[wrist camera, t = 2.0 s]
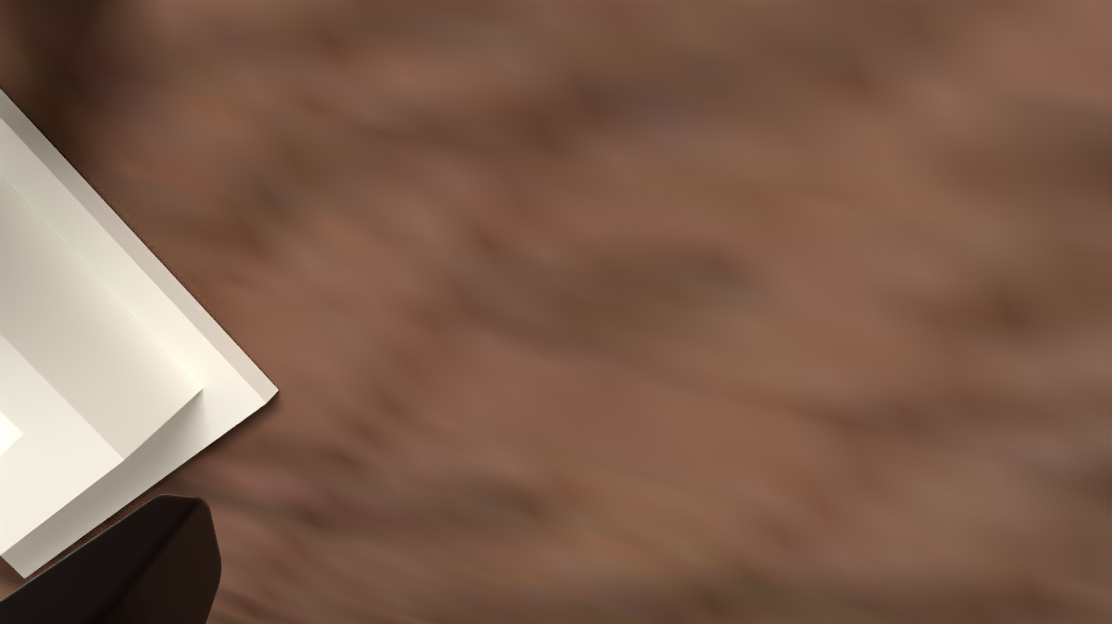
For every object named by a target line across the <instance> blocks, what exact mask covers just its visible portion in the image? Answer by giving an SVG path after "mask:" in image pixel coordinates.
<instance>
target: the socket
mask: <svg viewBox="0 0 1112 624" xmlns="http://www.w3.org/2000/svg"><path fill="white" fill-rule="evenodd" d="M278 391H279V390H278V389H277V388H276V387H275V385H274V384H273V383H272V382H271V381H270V380H269V379H268V378H267V377H266V376H265V375H264V374H263V372H262V371H261V370H260V369H259V368H258V367H257V366H256V365H255V364H254V363H253V362H252V361H251V359H250V358H249V357H248V356H247V355H246V354H245V353H244V352H243V351H242V350H241V349H240V348H239V346H238V345H237V344H236V343H235V342H234V341H233V340H232V339H231V338H230V337H229V336H228V335H227V333H226V332H225V331H224V330H223V329H222V328H221V327H220V326H219V325H218V324H217V323H216V322H215V320H214V319H213V318H212V317H211V316H210V315H209V314H208V313H207V312H206V311H205V310H204V309H203V307H202V306H201V305H200V304H199V303H198V302H197V301H196V300H195V299H194V298H193V297H192V296H191V294H190V293H189V292H188V291H187V290H186V289H185V288H184V287H183V286H182V285H181V284H180V283H179V281H178V280H177V279H176V278H175V277H174V276H173V275H172V274H171V273H170V272H169V271H168V270H167V268H166V267H165V266H164V265H163V264H162V263H161V262H160V261H159V260H158V259H157V258H156V257H155V255H154V254H153V253H152V252H151V251H150V250H149V249H148V248H147V247H146V246H145V245H144V244H143V243H142V241H141V240H140V239H139V238H138V237H137V236H136V235H135V234H134V233H133V232H132V231H131V230H130V228H129V227H128V226H127V225H126V224H125V223H124V222H123V221H122V220H121V219H120V218H119V217H118V215H117V214H116V213H115V212H114V211H113V210H112V209H111V208H110V207H109V206H108V205H107V204H106V202H105V201H104V200H103V199H102V198H101V197H100V196H99V195H98V194H97V193H96V192H95V191H94V189H93V188H92V187H91V186H90V185H89V184H88V183H87V182H86V181H85V180H84V179H83V178H82V176H81V175H80V174H79V173H78V172H77V171H76V170H75V169H74V168H73V167H72V166H71V165H70V163H69V162H68V161H67V160H66V159H65V158H64V157H63V156H62V155H61V154H60V153H59V152H58V150H57V149H56V148H55V147H54V146H53V145H52V144H51V143H50V142H49V141H48V140H47V139H46V137H45V136H44V135H43V134H42V133H41V132H40V131H39V130H38V129H37V128H36V127H35V126H34V124H33V123H32V122H31V121H30V120H29V119H28V118H27V117H26V116H25V115H24V114H23V113H22V111H21V110H20V109H19V108H18V107H17V106H16V105H15V104H14V103H13V102H12V101H11V100H10V99H9V97H8V96H7V95H6V94H5V93H4V92H3V91H2V90H1V89H0V556H1V557H2V558H3V559H4V560H5V561H6V562H8V563H9V564H10V565H11V566H12V567H13V568H14V569H15V570H16V571H17V572H18V573H19V574H20V575H21V576H22V577H23V578H24V579H25V578H26V577H27V576H29V575H30V574H31V573H33V572H34V571H36V570H37V569H38V568H40V567H41V566H42V565H44V564H45V563H47V562H48V561H49V560H51V559H52V558H54V557H55V556H56V555H58V554H59V553H60V552H62V551H63V550H65V549H66V548H67V547H69V546H70V545H71V544H73V543H74V542H76V541H77V540H78V539H80V538H81V537H82V536H84V535H85V534H87V533H88V532H89V531H91V530H92V529H94V528H95V527H96V526H98V525H99V524H100V523H102V522H103V521H105V520H106V519H107V518H109V517H110V516H111V515H113V514H114V513H116V512H117V511H118V510H120V509H121V508H122V507H124V506H125V505H127V504H128V503H129V502H131V501H132V500H134V499H135V498H136V497H138V496H139V495H140V494H142V493H143V492H145V491H146V490H147V489H149V488H150V487H151V486H153V485H154V484H156V483H157V482H158V481H160V480H161V479H162V478H164V477H165V476H167V475H168V474H169V473H171V472H172V471H173V470H175V469H176V468H178V467H179V466H180V465H182V464H183V463H185V462H186V461H187V460H189V459H190V458H191V457H193V456H194V455H196V454H197V453H198V452H200V451H201V450H202V449H204V448H205V447H207V446H208V445H209V444H211V443H212V442H213V441H215V440H216V439H218V438H219V437H220V436H222V435H223V434H225V433H226V432H227V431H229V430H230V429H231V428H233V427H234V426H236V425H237V424H238V423H240V422H241V421H242V420H244V419H245V418H247V417H248V416H249V415H251V414H252V413H253V412H255V411H256V410H258V409H259V408H260V407H262V406H263V405H265V404H266V403H267V402H268V401H269V400H270V399H271V398H272V397H273V396H274V395H275V394H276V393H277V392H278Z"/></svg>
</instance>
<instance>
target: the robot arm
mask: <svg viewBox="0 0 1112 624" xmlns="http://www.w3.org/2000/svg"><path fill="white" fill-rule="evenodd" d="M220 577H221V556H220V552H219V547H218V543H217V538H216V534H215V530H214V525H213V521H212V516H211V512H210V509H209V506H208V504H207V503H206V501H205V500H204V499H202V498H200V497H196V496H185V495H175V494H161V495H159V496H156V497H154V498H153V499H151V500H149V501H148V502H146V503H145V504H143V505H142V506H140V507H139V508H137V509H136V510H134V511H133V512H131V513H130V514H129V515H127V516H126V517H124V518H123V519H121V520H120V521H118V522H117V523H115V524H114V525H112V526H111V527H109V528H108V529H106V530H105V531H103V532H102V533H100V534H99V535H97V536H96V537H94V538H93V539H91V540H90V541H88V542H87V543H85V544H84V545H82V546H81V547H79V548H78V549H76V550H75V551H73V552H72V553H70V554H69V555H67V556H66V557H64V558H63V559H62V560H60V561H59V562H57V563H56V564H54V565H53V566H51V567H50V568H48V569H47V570H45V571H44V572H42V573H41V574H39V575H38V576H36V577H35V578H33V579H32V580H30V581H29V582H27V583H26V584H24V585H23V586H21V587H20V588H18V589H17V590H15V591H14V592H12V593H11V594H9V595H8V596H6V597H5V598H3V599H2V600H0V624H206V622H207V619H208V616H209V613H210V610H211V607H212V604H213V601H214V598H215V595H216V592H217V589H218V586H219V582H220Z"/></svg>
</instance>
